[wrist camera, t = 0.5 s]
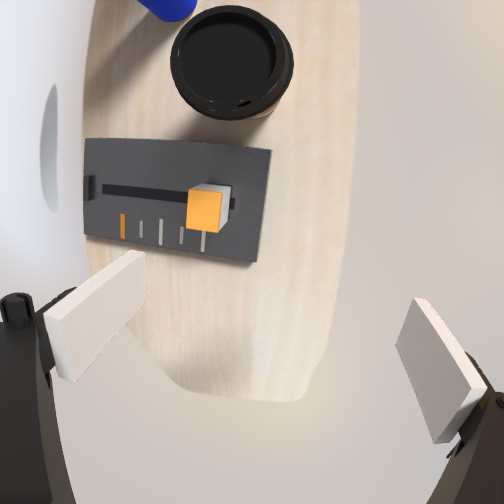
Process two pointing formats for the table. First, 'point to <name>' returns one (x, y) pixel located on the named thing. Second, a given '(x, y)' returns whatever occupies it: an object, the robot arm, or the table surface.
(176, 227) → the panel
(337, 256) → the table surface
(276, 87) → the coffee cup
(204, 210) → the fader tab
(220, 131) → the table surface
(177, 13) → the beverage can
